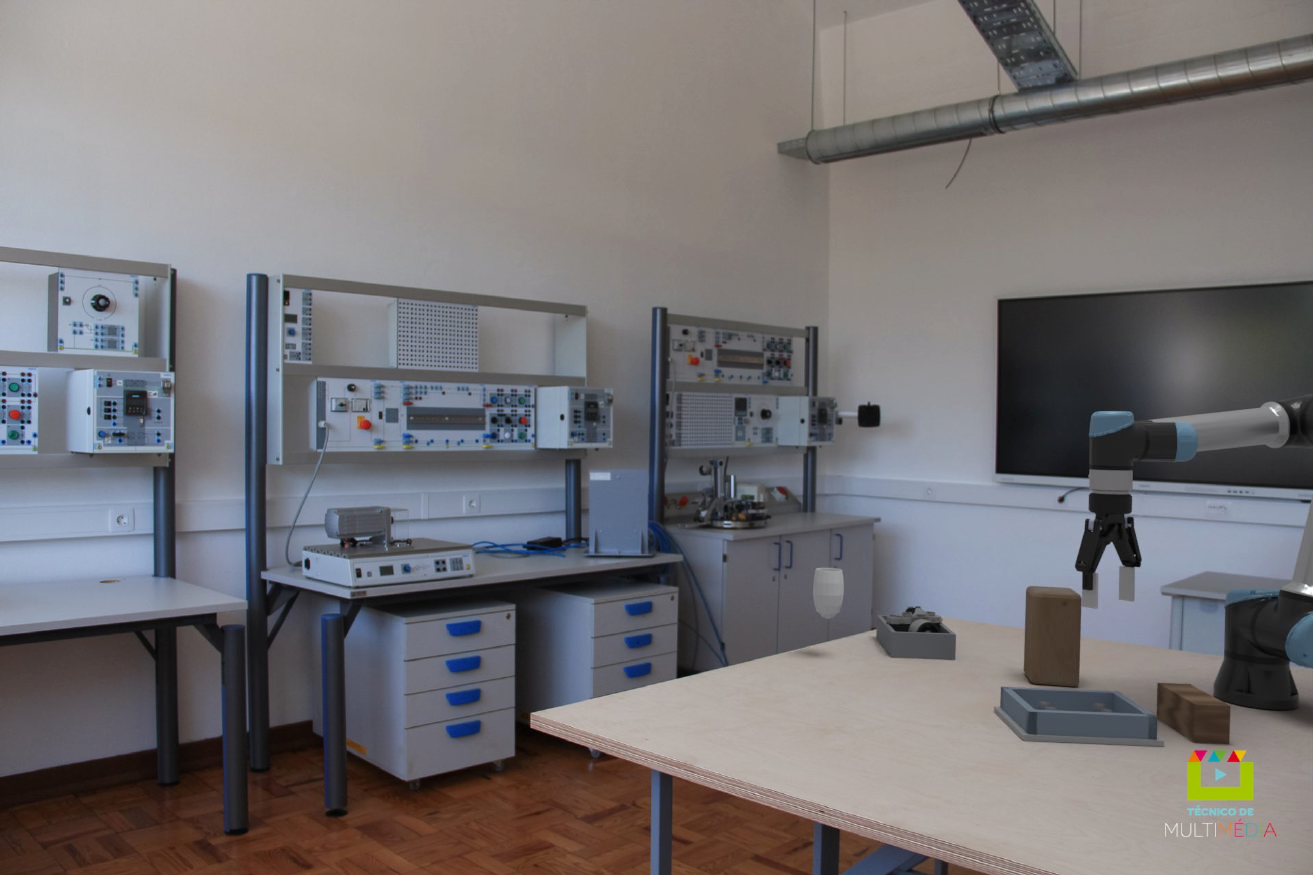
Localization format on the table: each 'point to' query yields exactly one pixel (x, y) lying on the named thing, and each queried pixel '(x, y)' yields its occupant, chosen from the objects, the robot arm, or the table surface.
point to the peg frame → (1077, 716)
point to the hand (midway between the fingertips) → (1108, 604)
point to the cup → (828, 591)
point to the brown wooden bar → (1193, 713)
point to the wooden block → (1052, 636)
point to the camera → (915, 621)
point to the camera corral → (916, 642)
